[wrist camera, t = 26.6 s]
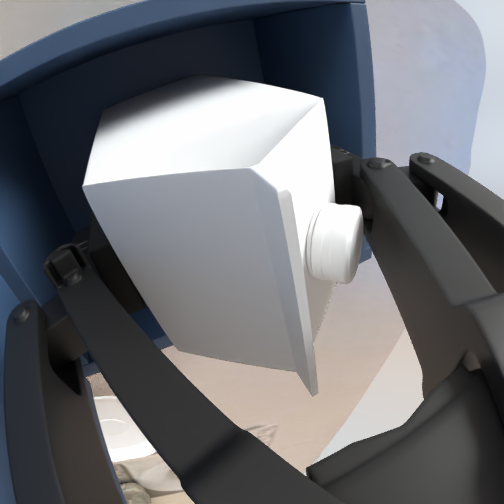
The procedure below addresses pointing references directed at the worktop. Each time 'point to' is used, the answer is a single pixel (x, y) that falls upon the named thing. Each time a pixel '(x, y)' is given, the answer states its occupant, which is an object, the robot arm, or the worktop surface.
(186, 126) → the milk carton
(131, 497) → the elongated rock
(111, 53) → the cool box
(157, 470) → the worktop surface
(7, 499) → the cool box lid
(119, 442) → the plate
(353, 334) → the worktop surface
